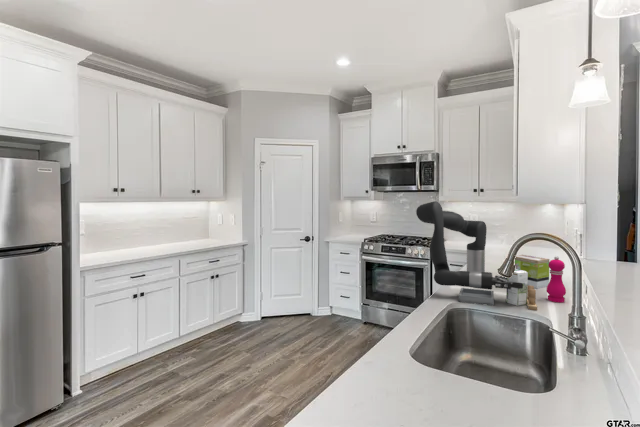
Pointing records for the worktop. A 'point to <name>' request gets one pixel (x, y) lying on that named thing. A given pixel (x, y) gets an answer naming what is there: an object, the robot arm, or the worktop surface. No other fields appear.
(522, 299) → the syrup box
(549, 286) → the pepper mill
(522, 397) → the worktop surface
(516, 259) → the tea box
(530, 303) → the bench stop
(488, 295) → the tray
